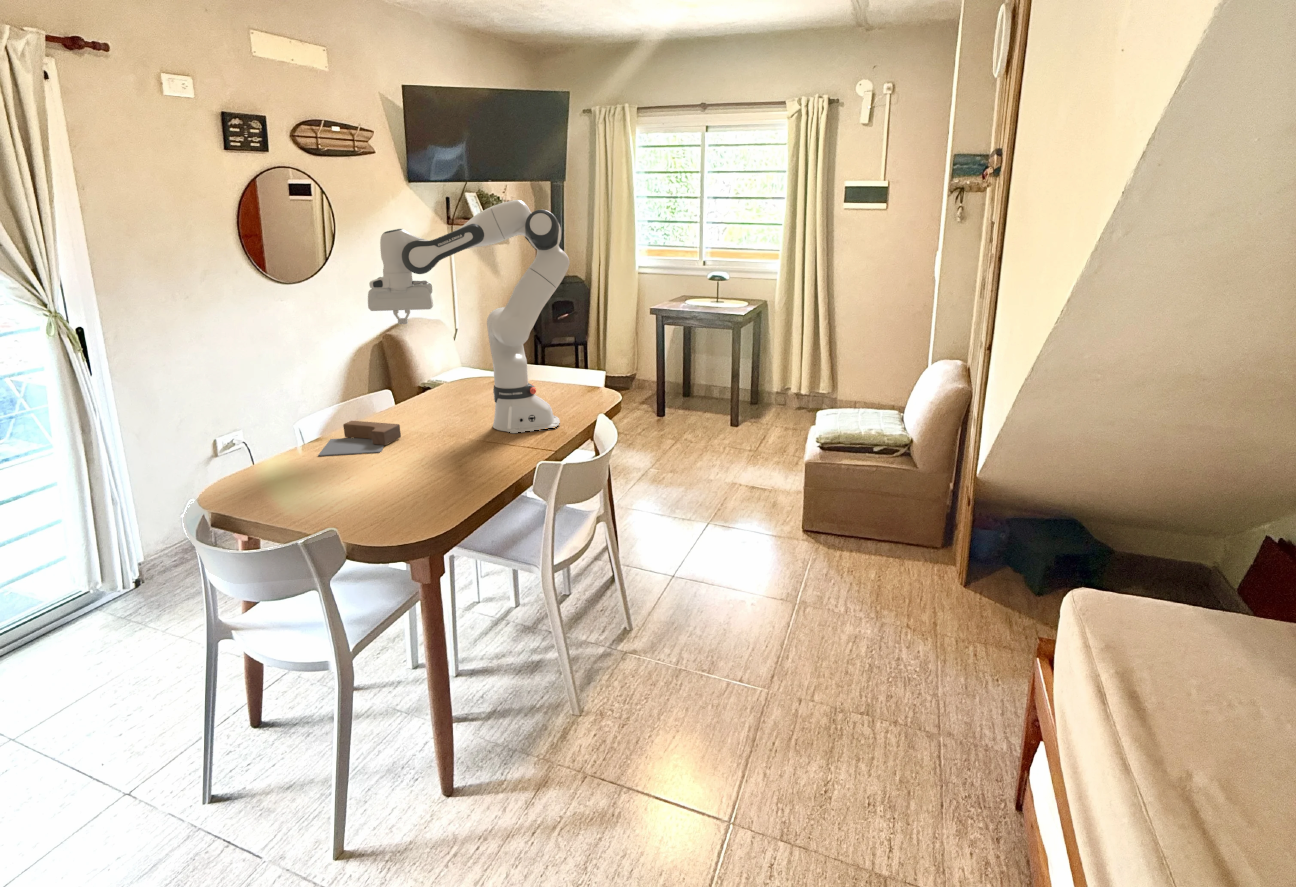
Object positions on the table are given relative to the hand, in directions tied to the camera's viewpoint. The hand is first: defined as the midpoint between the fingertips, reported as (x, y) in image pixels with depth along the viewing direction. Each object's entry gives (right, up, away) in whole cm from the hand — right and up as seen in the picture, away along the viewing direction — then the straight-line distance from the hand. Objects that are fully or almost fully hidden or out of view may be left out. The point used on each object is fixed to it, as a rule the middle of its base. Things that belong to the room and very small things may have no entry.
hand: (403, 323), depth 244 cm
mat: (-11, -40, -13) cm, 44 cm away
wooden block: (0, -37, -11) cm, 38 cm away
